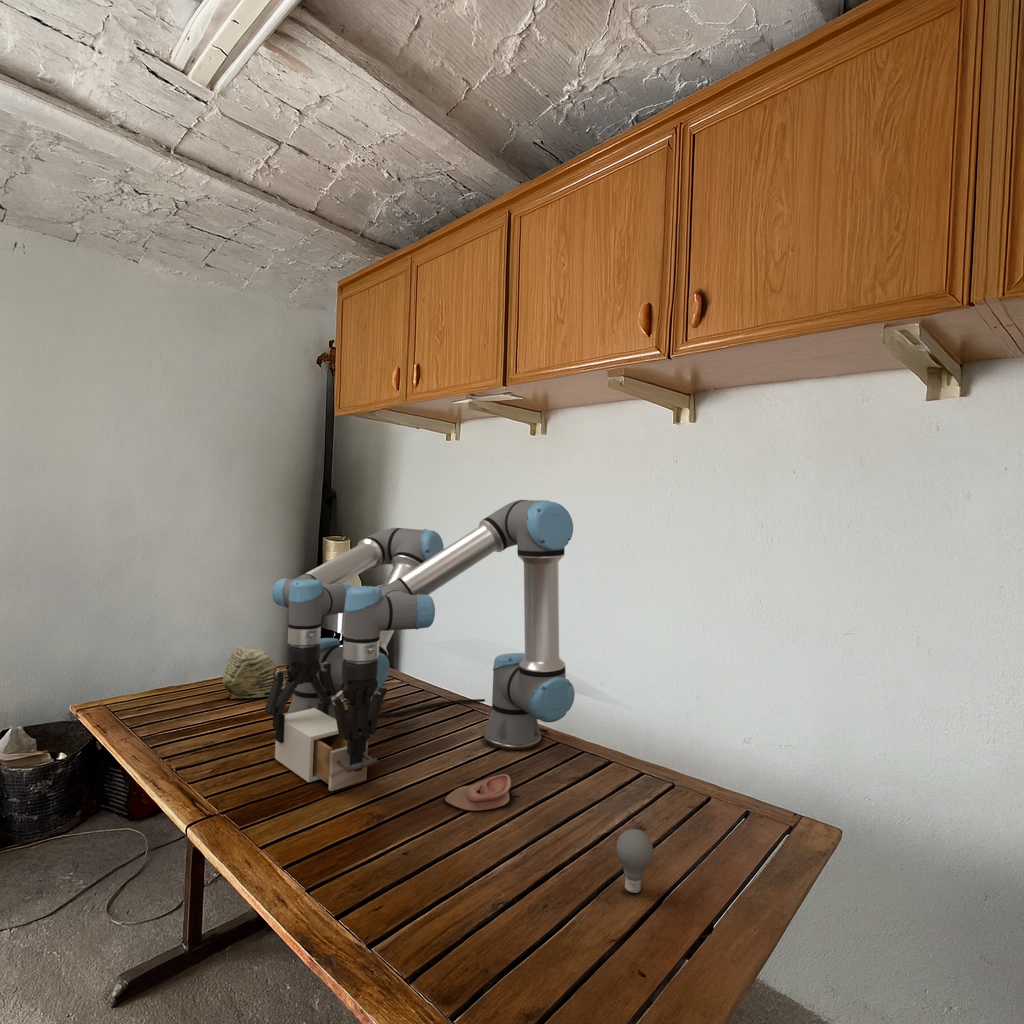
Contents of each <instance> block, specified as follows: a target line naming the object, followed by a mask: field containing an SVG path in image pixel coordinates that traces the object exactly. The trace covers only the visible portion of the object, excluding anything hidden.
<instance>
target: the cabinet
mask: <svg viewBox="0 0 1024 1024" xmlns="http://www.w3.org/2000/svg"><path fill="white" fill-rule="evenodd" d="M284 715H285V721H284V743H279V742H278V741H276V740H275V741H274V742H275V744H274V749H275V750H274V760H276V761H277V762H279V763H280V764H281V765H283V766H285V768H288V769H289V770H290V771H292V772H293V773H294V774H295V775H297V776H298V777H300V778H301V779H302V780H304V781H306V782H307V783H312V782H315V781H318V780H321V779H320V778H318V777H317V776H316V775H314V774H313V751H314V740H316V739H320V738H324V737H328V736H331V735H335V734H339V732H338V727H337V722H336V719H334V718H332V717H330V716H328V715H327V714H325V713H323V712H321V711H319V710H317V709H315V708H312V709H308V710H303V711H299V712H294V713H290V714H287V713H286V714H284Z"/></svg>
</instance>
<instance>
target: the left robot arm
mask: <svg viewBox="0 0 1024 1024" xmlns="http://www.w3.org/2000/svg"><path fill="white" fill-rule="evenodd" d="M443 549H445V545H444V541H443V538H442V537H441V535H440V534H439V533H438V532H437V531H435V530H429V529H427V528H424V529H418V528H403V527H390V528H386V529H383V530H381V531H377V532H375V533H373V534H370V535H368V536H366V537H364V538H363V539H361V540H359V541H358V542H357V545H356V546H354V547H352V548H351V549H349V550H347V551H345V552H343V553H341V554H339V555H337V556H336V557H333V558H331V559H330V560H328V561H326V562H324V563H322V564H320V565H319V566H317V567H315V568H313V569H311V570H309V571H307V572H305V573H303V574H301V575H299V576H298V577H295V578H291V577H288V578H287V577H286V578H280V579H279V580H278V581H276V582H275V584H274V585H273V587H272V590H271V591H272V593H271V594H272V600H273V602H274V603H275V604H276V605H277V606H280V607H283V608H287V609H288V627H287V644H288V645H287V647H286V648H287V651H286V661H287V662H286V663H287V664H286V667H285V668H284V669H279V670H275V671H274V681H273V684H272V687H271V691H270V694H269V696H267V702H266V704H265V707H264V712H265V713H267V714H268V715H270V716H271V715H272V728H273V729H275V741H278V742H279V743H284V721H285V714H284V713H283V712H284V710H285V708H286V706H287V704H288V703H289V700H290V698H291V696H293V697H292V699H291V702H290V704H289V708H288V711H287V713H286V714H290V713H294V712H299V711H303V710H308V709H312V708H315V709H317V710H319V711H321V712H323V713H325V714H327V715H328V716H330V717H332V718H334V719H336V716H335V711H334V706H333V704H332V703H331V701H330V696H331V695H334V696H335V695H336V694H337V693H338V692H339V691H340V687H341V685H342V682H343V680H342V662H343V661H344V660H345V659H344V658H343V657H342V656H343V646H340V644H341V643H340V640H339V639H338V638H335V637H322V638H321V636H322V635H321V631H322V618H323V617H326V616H333V615H337V614H338V615H339V614H345V610H344V608H345V600H346V593H347V590H348V589H350V588H351V587H354V586H353V585H352V584H350V583H349V582H348V581H349V580H351V579H352V578H354V577H356V576H358V575H360V574H362V573H363V572H365V571H367V570H368V569H376V568H379V567H380V566H385V565H392V567H393V568H392V569H391V571H390V573H389V574H388V577H387V579H386V580H385V582H384V584H383V585H386V584H387V585H388V584H390V583H391V582H393V581H394V580H396V579H398V578H400V577H401V576H403V575H404V574H406V573H407V572H409V571H411V570H412V569H414V568H415V567H417V566H418V565H420V564H421V563H423V562H425V561H426V560H428V559H429V558H431V557H432V556H434V555H436V554H437V553H439V552H440V551H442V550H443ZM394 632H395V630H387V631H380V639H379V657H378V658H377V661H378V676H377V681H378V685H379V686H382V687H384V685H385V683H386V682H387V679H388V677H389V674H390V672H389V671H390V670H389V669H390V661H389V658H388V657H389V653H388V649H387V647H388V644H389V642H390V640H391V639H392V636H393V635H394ZM286 676H287V680H286ZM283 679H285V680H286V685H285V687H284V689H283V691H282V693H280V691H281V688H282V685H283ZM485 702H486V699H485V698H477V699H475V698H473V699H472V698H471V699H470V698H469V699H457V700H455V699H454V700H447V701H440V702H436V703H435V702H434V703H430V704H426V705H421V706H417V707H413V708H409V709H404V710H400V711H394V712H384V713H382V712H381V713H379V717H380V718H381V717H392V716H393V717H394V716H399V715H404V714H407V713H412V712H416V711H421V710H424V709H428V708H429V709H430V708H433V707H438V706H443V705H452V704H461V703H485ZM345 712H346V716H347V713H348V711H345ZM379 717H378V718H379Z"/></svg>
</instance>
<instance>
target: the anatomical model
mask: <svg viewBox="0 0 1024 1024" xmlns="http://www.w3.org/2000/svg"><path fill="white" fill-rule="evenodd" d="M511 787H512V780H511V778H510V776H509V775H508V774H506V773H501V774H498V775H494V776H489V777H487V778H485V779H483V780H480V781H477V782H475V783H473V784H471V785H464V786H463V785H462V786H460V787H458V788H456V789H454V790H453V791H451V792H450V793H449V794H447V796H446V797H445V799H444V801H445V802H446V803H448V804H449V805H450V806H453V807H455V808H458V809H461V810H464V811H468V812H469V811H474V812H475V811H486V810H493V809H498V808H500V807H502V806H505V805H506V804H508V803H509V801H510V800H511V799H510V798H511V797H510V793H509V791H510V790H511Z"/></svg>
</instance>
